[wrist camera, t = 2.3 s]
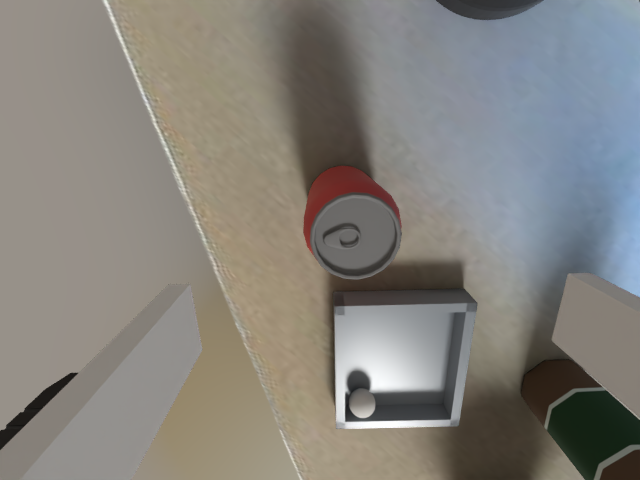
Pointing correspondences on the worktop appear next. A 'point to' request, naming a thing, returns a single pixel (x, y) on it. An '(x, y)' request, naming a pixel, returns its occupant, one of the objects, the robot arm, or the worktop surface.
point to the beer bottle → (584, 420)
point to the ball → (362, 403)
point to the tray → (402, 355)
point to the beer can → (351, 223)
